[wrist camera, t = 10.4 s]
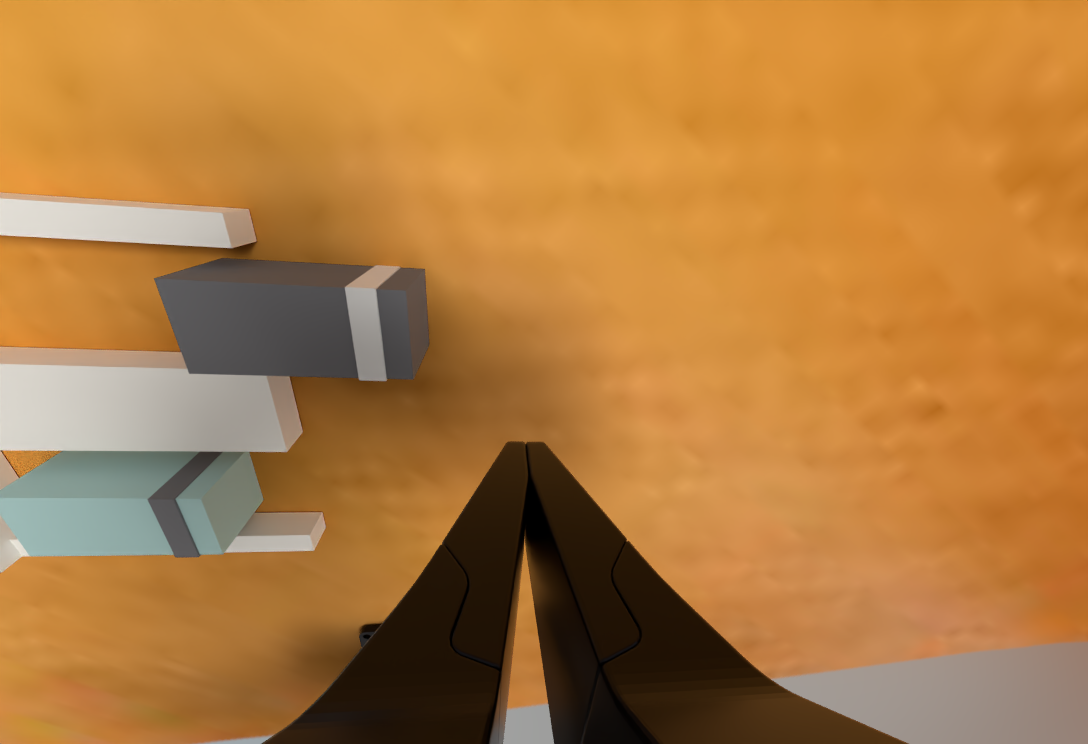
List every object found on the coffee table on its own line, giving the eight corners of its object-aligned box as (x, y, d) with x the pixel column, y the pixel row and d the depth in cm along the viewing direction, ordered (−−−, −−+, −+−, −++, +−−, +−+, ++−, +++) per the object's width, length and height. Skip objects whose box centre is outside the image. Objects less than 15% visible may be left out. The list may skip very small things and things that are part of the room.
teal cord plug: (264, 500, 22) (222, 556, 19) (101, 499, 21) (28, 558, 18) (248, 447, 20) (198, 499, 17) (71, 444, 19) (-17, 498, 16)
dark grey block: (429, 345, 18) (413, 381, 15) (245, 339, 18) (187, 376, 14) (424, 267, 17) (405, 290, 14) (222, 256, 16) (150, 277, 13)
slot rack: (325, 527, 23) (301, 575, 20) (25, 531, 21) (-47, 584, 18) (248, 209, 15) (192, 217, 12) (-230, 177, 14) (-417, 178, 11)
